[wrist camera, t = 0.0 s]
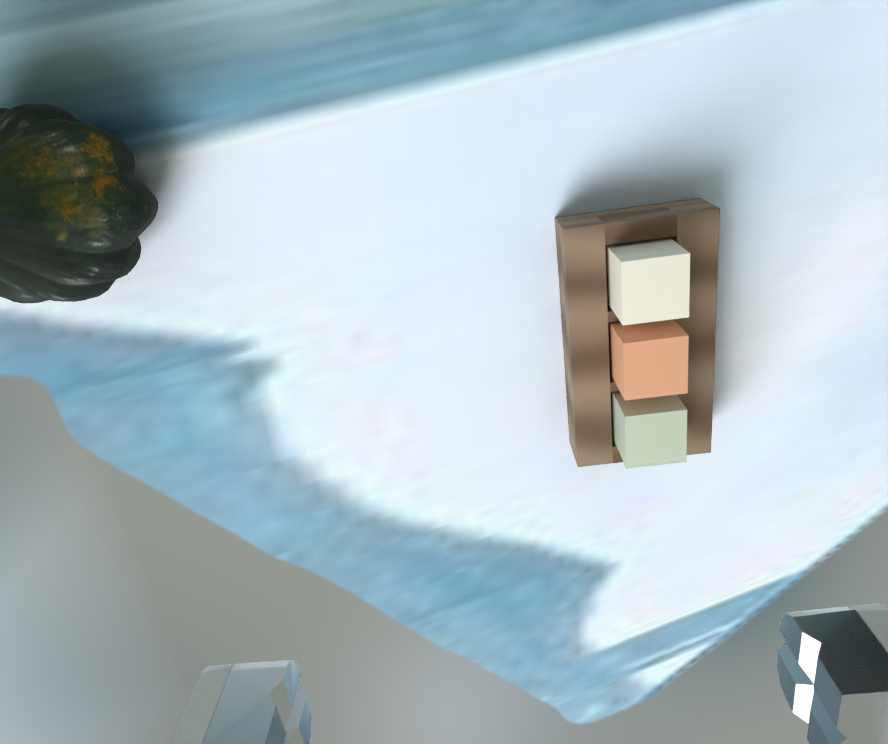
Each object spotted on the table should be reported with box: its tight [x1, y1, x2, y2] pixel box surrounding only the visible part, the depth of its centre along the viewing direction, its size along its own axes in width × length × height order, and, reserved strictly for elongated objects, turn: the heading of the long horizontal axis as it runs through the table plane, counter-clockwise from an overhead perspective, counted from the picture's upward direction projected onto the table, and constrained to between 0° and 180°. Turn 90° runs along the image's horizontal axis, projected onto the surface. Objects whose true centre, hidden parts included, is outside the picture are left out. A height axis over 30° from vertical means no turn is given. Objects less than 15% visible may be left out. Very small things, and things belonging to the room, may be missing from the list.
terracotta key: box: [609, 319, 689, 400], centre depth 54 cm, size 5×5×5 cm
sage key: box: [612, 391, 687, 468], centre depth 57 cm, size 5×5×5 cm
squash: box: [0, 103, 158, 303], centre depth 50 cm, size 14×15×15 cm
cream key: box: [606, 237, 690, 325], centre depth 52 cm, size 5×5×5 cm
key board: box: [555, 198, 720, 467], centre depth 58 cm, size 22×12×4 cm, turn 8°
